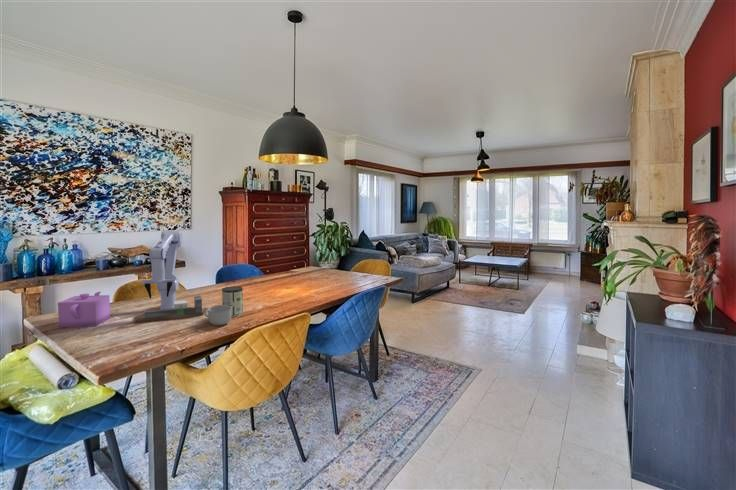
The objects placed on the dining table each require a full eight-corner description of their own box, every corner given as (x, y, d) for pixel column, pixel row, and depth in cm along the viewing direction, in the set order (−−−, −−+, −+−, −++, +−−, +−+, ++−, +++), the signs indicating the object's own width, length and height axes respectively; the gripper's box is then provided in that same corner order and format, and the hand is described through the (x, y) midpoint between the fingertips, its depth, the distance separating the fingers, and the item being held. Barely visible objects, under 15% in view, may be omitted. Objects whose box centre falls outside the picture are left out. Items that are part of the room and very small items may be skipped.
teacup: (236, 322, 178) (236, 306, 177) (220, 328, 168) (220, 311, 167) (214, 318, 183) (213, 303, 182) (197, 324, 172) (197, 308, 172)
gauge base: (137, 316, 184) (136, 300, 183) (201, 309, 198) (201, 294, 197) (135, 322, 173) (134, 305, 172) (203, 315, 188) (202, 299, 187)
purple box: (117, 314, 187) (116, 287, 186) (90, 329, 163) (89, 299, 161) (84, 315, 184) (82, 288, 183) (52, 331, 160) (50, 300, 158)
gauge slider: (174, 310, 189) (174, 301, 188) (186, 309, 192) (186, 300, 191) (174, 315, 181) (174, 305, 181) (187, 313, 184) (187, 304, 184)
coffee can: (228, 311, 197) (227, 285, 195) (246, 312, 195) (245, 286, 194) (218, 316, 186) (218, 289, 185) (237, 317, 185) (237, 290, 184)
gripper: (141, 273, 177) (142, 300, 179) (174, 271, 185) (175, 297, 186) (142, 271, 184) (143, 297, 185) (174, 269, 191) (174, 294, 192)
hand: (159, 297), depth 186 cm, fingers open, 7 cm apart
